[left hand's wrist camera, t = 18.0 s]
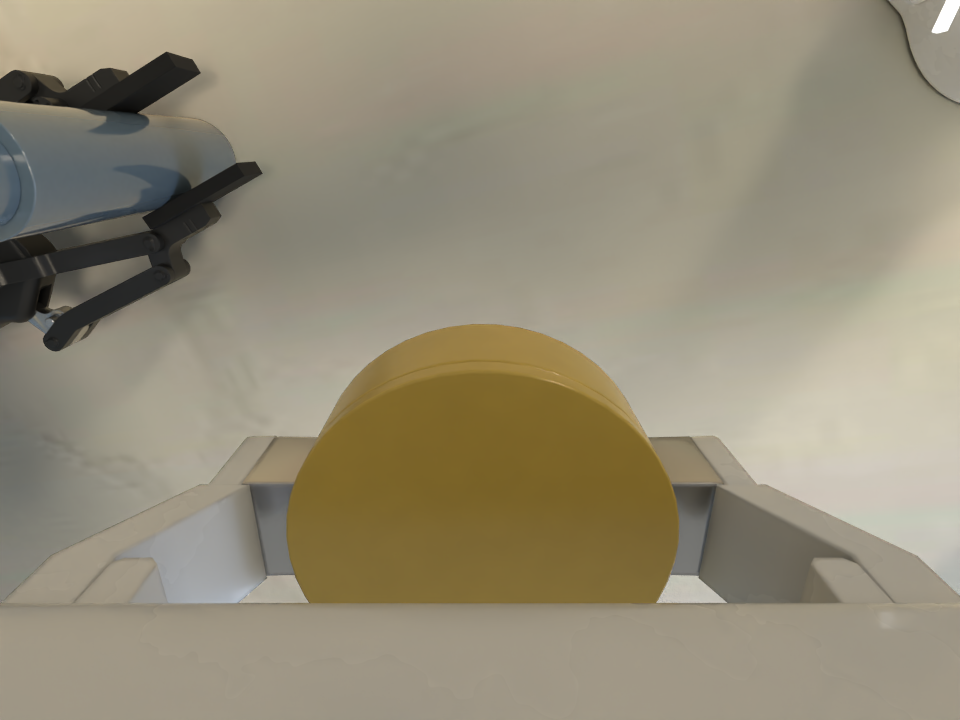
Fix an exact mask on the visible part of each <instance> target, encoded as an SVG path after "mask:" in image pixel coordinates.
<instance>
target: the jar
mask: <svg viewBox="0 0 960 720" xmlns="http://www.w3.org/2000/svg"><path fill="white" fill-rule="evenodd" d="M235 163H236V160H235V155H234V152H233V149H232V147H231V145H230V143H229V142H228V140H227V139H226V137H225V136H224V135H223V134H222V133H221V132H220V131H219V130H218V129H217V128H216V127H214V126H213V125H211V124H209V123H207V122H205V121H202V120H199V119H194V118H183V117H173V116H162V115H151V114H140V113H129V112H118V111H108V110H97V109H86V108H75V107H64V106H54V105H43V104H32V103H21V102H10V101H0V242H3V241H8V240H13V239H18V238H23V237H28V236H33V235H38V234H42V233H47V232H52V231H57V230H62V229H67V228H72V227H77V226H82V225H87V224H92V223H97V222H102V221H106V220H111V219H116V218H121V217H126V216H131V215H136V214H141V213H146V212H151V211H154V210H156V209H158V208H160V207H161V206H163V205H165V204H166V203H168V202H170V201H172V200H173V199H175V198H177V197H179V196H180V195H182V194H184V193H185V192H187V191H189V190H191V189H192V188H194V187H196V186H198V185H199V184H201V183H203V182H204V181H206V180H208V179H210V178H211V177H213V176H215V175H216V174H218V173H220V172H222V171H223V170H225V169H227V168H229V167H230V166H232V165H234V164H235Z"/></svg>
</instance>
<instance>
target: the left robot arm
mask: <svg viewBox="0 0 960 720" xmlns="http://www.w3.org/2000/svg"><path fill="white" fill-rule="evenodd" d="M888 1H889V2H890V3H891V4H892V5H893V6H894V8H895V9H896V10H897V11H898V12H899V13H900V14H901V17H902V19H903V21H904V25H905V28H906V32H907V36H908V40H909V44H910V48H911V51H912V54H913V57H914V59H915V62H916V64H917V66H918V68H919V69H920V71H921V73H922V74H923V76H924V77H925V78H926V80H927V81H928V82H929V83H930V84H931V85H932V86H933V87H934V88H935V89H936V90H937V91H939V92H940V93H941V94H943V95H944V96H946V97H947V98H949V99H951V100H953V101H955V102H958V103H960V0H888ZM317 438H318V437H282V436H279V437H277V436H252V437H247V438H246V439H245V440H244V441H243V443H242V444H241V445H240V446H239V448H238V449H237V450H236V451H235V453H234V454H233V455H232V456H231V457H230V459H229V460H228V461H227V462H226V464H225V465H224V466H223V467H222V469H221V470H220V471H219V472H218V474H217V475H216V476H215V477H214V478H213V480H212V481H211V482H210V483H209V485H198V486H196V487H194V488H192V489H189V490H187V491H185V492H183V493H181V494H179V495H177V496H175V497H173V498H171V499H168V500H166V501H164V502H162V503H160V504H158V505H156V506H154V507H152V508H150V509H147V510H145V511H143V512H141V513H139V514H137V515H135V516H133V517H131V518H129V519H126V520H124V521H122V522H120V523H118V524H116V525H114V526H112V527H110V528H107V529H105V530H103V531H101V532H99V533H97V534H95V535H93V536H91V537H89V538H86V539H84V540H82V541H80V542H78V543H76V544H74V545H72V546H70V547H68V548H65V549H63V550H61V551H59V552H57V553H55V554H53V555H51V556H50V557H49V558H48V559H47V560H46V561H45V562H43V563H42V564H41V565H40V566H39V567H38V568H37V569H36V570H35V571H34V572H33V573H32V574H31V575H30V576H29V577H28V578H27V579H26V580H25V581H24V582H22V583H21V584H20V585H19V586H18V587H17V588H16V589H15V590H14V591H13V592H12V593H11V594H10V595H9V596H8V597H7V598H6V599H5V600H4V601H2V602H1V603H0V720H960V596H959V595H958V594H957V593H956V592H955V591H954V590H953V589H952V588H951V587H950V586H949V585H948V584H947V583H945V582H944V581H943V580H942V579H941V578H940V577H939V576H938V575H937V574H936V573H935V572H934V571H933V570H932V569H931V568H930V567H928V566H927V565H926V564H925V563H924V562H923V561H922V560H921V559H920V558H919V557H918V556H916V555H914V554H912V553H910V552H908V551H905V550H903V549H901V548H899V547H897V546H895V545H893V544H891V543H889V542H886V541H884V540H882V539H880V538H878V537H876V536H874V535H872V534H869V533H867V532H865V531H863V530H861V529H859V528H857V527H855V526H853V525H850V524H848V523H846V522H844V521H842V520H840V519H838V518H836V517H834V516H831V515H829V514H827V513H825V512H823V511H821V510H819V509H817V508H814V507H812V506H810V505H808V504H806V503H804V502H802V501H800V500H798V499H795V498H793V497H791V496H789V495H787V494H785V493H783V492H781V491H779V490H776V489H774V488H772V487H770V486H768V485H757V484H756V483H755V481H754V480H753V479H752V478H751V477H750V475H749V474H748V473H747V472H746V470H745V469H744V468H743V467H742V466H741V464H740V463H739V462H738V461H737V460H736V458H735V457H734V456H733V455H732V454H731V452H730V451H729V450H728V449H727V448H726V446H725V445H724V444H723V443H722V442H721V440H720V439H719V438H717V437H715V436H695V437H689V436H688V437H648V439H649V440H650V442H651V444H652V446H653V447H654V449H655V451H656V453H657V454H658V456H659V458H660V460H661V462H662V464H663V466H664V468H665V470H666V472H667V474H668V476H669V478H670V481H671V484H672V487H673V490H674V493H675V497H676V501H677V508H678V515H679V542H678V548H677V553H676V559H675V563H674V566H673V569H672V572H671V574H670V575H695V576H699V579H701V580H702V581H703V582H704V583H705V584H706V585H708V586H709V587H710V588H711V589H712V590H713V591H714V592H716V593H717V594H718V595H719V596H720V597H721V598H723V599H724V600H725V601H726V602H727V603H239V602H240V601H241V600H242V599H243V598H244V597H245V596H247V595H248V594H249V593H250V592H251V591H252V590H254V589H255V588H256V587H257V586H258V585H259V584H261V583H262V582H263V581H264V580H265V579H266V578H267V577H266V576H270V575H295V574H294V571H293V568H292V564H291V561H290V558H289V552H288V545H287V538H286V516H287V510H288V504H289V499H290V494H291V491H292V488H293V485H294V483H295V480H296V477H297V474H298V472H299V470H300V469H301V467H302V465H303V463H304V461H305V459H306V458H307V456H308V454H309V452H310V450H311V449H312V447H313V445H314V443H315V441H316V440H317Z"/></svg>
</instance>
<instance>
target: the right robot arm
mask: <svg viewBox="0 0 960 720" xmlns="http://www.w3.org/2000/svg"><path fill="white" fill-rule="evenodd" d="M199 74H200V71H199V69H198V68H197V66H196V64H195V63H194V61H193V60H192V59H189V58H185V57H182V56H179V55H175V54H172V53H169V52H165V53H164V54H162V55H161V56H159V57H157V58H156V59H154V60H153V61H151V62H150V63H148V64H146V65H145V66H143V67H142V68H140V69H139V70H137V71H135V72H134V73H132V74H131V75H129V74H128V73H127V71H122V70H117V69H113V68H105V69H100V70H98V71H96V72H95V73H93V75H90V76H89V77H87V78H86V79H84V80H83V81H81V82H79V83H78V84H76V85H75V86H73V87H72V88H70V89H69V90H66V89H65V88H64V86H63V84H62V82H61V81H60V80H59V79H58V78H56V77H54V76H50V75H45V74H39V73H33V72H26V71H20V70H13V71H11V72H9V73H8V74H7V75H5V76H4V77H3V78H1V79H0V101H10V102H21V103H32V104H43V105H54V106H64V107H75V108H86V109H97V110H108V111H118V112H129V113H138V112H139V111H141V110H143V109H144V108H146V107H147V106H149V105H151V104H152V103H154V102H155V101H157V100H159V99H160V98H162V97H163V96H165V95H167V94H168V93H170V92H172V91H173V90H175V89H176V88H178V87H180V86H181V85H183V84H184V83H186V82H188V81H189V80H191V79H192V78H194V77H196V76H197V75H199ZM261 174H263V173H262V172H261V170H260V168H259V167H258V165H257V164H256V162H244V163H235V164H234V165H232V166H230V167H229V168H227V169H225V170H223V171H222V172H220V173H218V174H216V175H215V176H213V177H211V178H210V179H208V180H206V181H204V182H203V183H201V184H199V185H198V186H196V187H194V188H192V189H191V190H189V191H187V192H185V193H184V194H182V195H180V196H179V197H177V198H175V199H173V200H172V201H170V202H168V203H166V204H165V205H163V206H161V207H160V208H158V209H156V210H154V211H153V212H151V213H149V214H148V215H146V216H144V217H142V218H143V219H144V221H145V222H146V224H147V225H148V226H149V228H150V229H153V230H151V231H146V232H142V233H137V234H132V235H127V236H123V237H118V238H113V239H109V240H104V241H99V242H95V243H90V244H85V245H80V246H76V247H70V248H65V249H61V250H56V249H55V247H54V246H53V245H52V244H51V242H50V241H49V240H48V239H46V238H45V237H44V236H43V235H42V234H38V235H33V236H28V237H23V238H18V239H13V240H8V241H3V242H0V328H2V327H4V326H5V325H7V324H9V323H11V322H15V323H22V322H26V321H29V322H30V323H31V324H33V325H34V326H35V327H37V328H38V329H40V330H41V331H42V332H44V333H45V335H44V338H43V342H44V344H45V346H46V347H47V348H48V349H50V350H52V351H60V350H62V349H64V348H66V347H68V346H70V345H72V344H74V343H76V342H78V341H80V340H82V339H84V338H86V337H87V336H88V335H89V334H90V333H91V331H92V330H93V329H94V328H95V326H96V325H97V324H98V322H99V321H100V320H101V319H102V318H104V317H106V316H108V315H110V314H112V313H114V312H116V311H118V310H120V309H122V308H124V307H126V306H128V305H130V304H132V303H134V302H136V301H138V300H140V299H141V298H143V297H145V296H147V295H149V294H151V293H153V292H155V291H157V290H159V289H161V288H163V287H165V286H167V285H169V284H171V283H173V282H175V281H177V280H179V279H181V278H183V277H185V276H187V275H188V274H189V273H190V265H189V263H188V262H187V261H186V260H185V259H183V256H182V253H181V245H182V244H183V243H185V241H186V240H187V239H188V238H190V237H192V236H193V235H195V234H197V233H199V232H200V231H202V230H204V229H206V228H208V227H209V226H211V225H213V224H215V223H217V221H218V220H219V218H220V217H221V214H220V213H219V211H218V210H217V208H216V207H215V205H214V204H213V202H214V201H215V200H217V199H219V198H221V197H222V196H224V195H226V194H228V193H230V192H231V191H233V190H235V189H237V188H238V187H240V186H242V185H244V184H245V183H247V182H249V181H251V180H252V179H254V178H256V177H258V176H259V175H261ZM144 255H148V256H149V259H150V262H151V265H152V268H150V269H148V270H146V271H144V272H142V273H140V274H138V275H136V276H134V277H132V278H130V279H129V280H127V281H125V282H123V283H121V284H119V285H117V286H115V287H113V288H111V289H109V290H107V291H105V292H103V293H102V294H100V295H98V296H96V297H94V298H92V299H90V300H88V301H86V302H84V303H82V304H80V305H78V306H76V307H74V308H71V307H69V306H62V307H60V308H57V309H55V310H53V309H50V308H48V306H49V302H50V298H51V294H52V289H53V285H54V281H55V276H56V274H58V273H62V272H67V271H72V270H77V269H82V268H86V267H91V266H96V265H101V264H105V263H110V262H115V261H120V260H124V259H129V258H134V257H139V256H144Z"/></svg>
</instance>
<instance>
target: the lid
mask: <svg viewBox="0 0 960 720" xmlns="http://www.w3.org/2000/svg"><path fill="white" fill-rule="evenodd" d="M286 538H287V545H288V552H289V558H290V561H291V564H292V568H293V571H294V574H295V577H296V579H297V581H298V583H299V585H300V587H301V589H302V591H303V593H304V596H305V597H306V599H307V600H308V602H309V603H656V602H657V601H658V599H659V597H660V596H661V594H662V592H663V590H664V588H665V586H666V584H667V582H668V580H669V577H670V574H671V572H672V569H673V566H674V563H675V559H676V553H677V548H678V542H679V515H678V508H677V501H676V497H675V493H674V490H673V487H672V484H671V481H670V478H669V476H668V474H667V472H666V470H665V468H664V466H663V464H662V462H661V460H660V458H659V456H658V454H657V453H656V451H655V449H654V447H653V446H652V444H651V442H650V440H649V439H648V437H647V435H646V433H645V432H644V430H643V428H642V426H641V425H640V423H639V421H638V419H637V418H636V416H635V414H634V412H633V411H632V409H631V407H630V405H629V404H628V402H627V400H626V398H625V397H624V395H623V394H622V393H621V391H620V390H619V388H618V387H617V386H616V384H615V383H614V381H613V380H612V379H611V378H610V377H609V376H608V375H607V374H606V373H605V372H604V371H603V370H602V369H601V368H600V367H599V366H598V365H596V364H595V363H594V362H593V361H591V360H590V359H589V358H587V357H586V356H585V355H584V354H582V353H581V352H579V351H577V350H575V349H574V348H572V347H570V346H568V345H567V344H565V343H563V342H561V341H558V340H556V339H554V338H551V337H549V336H546V335H544V334H541V333H538V332H534V331H530V330H526V329H523V328H518V327H511V326H504V325H496V324H470V325H462V326H453V327H447V328H443V329H439V330H435V331H431V332H427V333H424V334H421V335H419V336H416V337H414V338H411V339H408V340H406V341H404V342H402V343H400V344H398V345H397V346H395V347H393V348H391V349H389V350H387V351H386V352H384V353H383V354H382V355H380V356H379V357H378V358H376V359H375V360H373V361H372V362H371V363H369V364H368V365H367V366H366V367H365V368H364V369H363V370H362V371H361V372H360V373H359V374H358V375H357V376H356V377H355V378H354V379H353V380H352V382H351V383H350V384H349V385H348V387H347V388H346V389H345V391H344V392H343V393H342V395H341V396H340V398H339V400H338V402H337V404H336V405H335V407H334V409H333V411H332V413H331V414H330V416H329V418H328V420H327V422H326V423H325V425H324V427H323V429H322V431H321V432H320V434H319V436H318V438H317V440H316V441H315V443H314V445H313V447H312V449H311V450H310V452H309V454H308V456H307V458H306V459H305V461H304V463H303V465H302V467H301V469H300V470H299V472H298V474H297V477H296V480H295V483H294V485H293V488H292V491H291V494H290V499H289V504H288V510H287V516H286Z"/></svg>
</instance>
